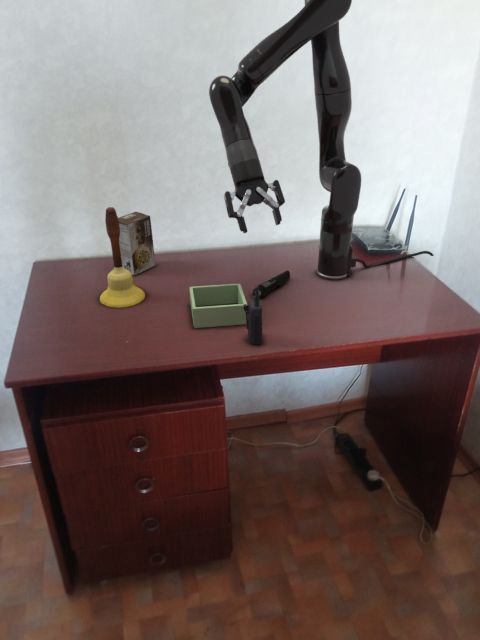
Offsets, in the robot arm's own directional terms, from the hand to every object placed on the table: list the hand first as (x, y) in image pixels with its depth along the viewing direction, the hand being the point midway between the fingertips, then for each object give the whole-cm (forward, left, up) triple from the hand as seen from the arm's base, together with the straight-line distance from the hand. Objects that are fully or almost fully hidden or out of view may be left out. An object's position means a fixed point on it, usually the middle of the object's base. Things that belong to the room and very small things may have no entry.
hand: (262, 228), depth 135 cm
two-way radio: (+5, +15, -23) cm, 28 cm away
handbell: (+37, -13, -23) cm, 45 cm away
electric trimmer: (-5, -12, -23) cm, 26 cm away
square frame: (+12, +1, -22) cm, 25 cm away
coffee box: (+33, -32, -23) cm, 51 cm away
